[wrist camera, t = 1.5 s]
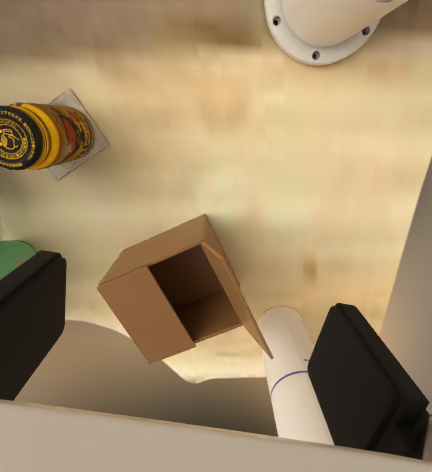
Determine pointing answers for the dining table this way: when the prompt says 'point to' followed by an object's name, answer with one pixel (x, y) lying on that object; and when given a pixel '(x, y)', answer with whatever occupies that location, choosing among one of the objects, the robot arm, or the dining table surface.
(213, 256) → the flap
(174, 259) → the carton
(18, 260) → the mug
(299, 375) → the cylindrical container
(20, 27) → the dining table surface
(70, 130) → the condiment
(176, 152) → the dining table surface
